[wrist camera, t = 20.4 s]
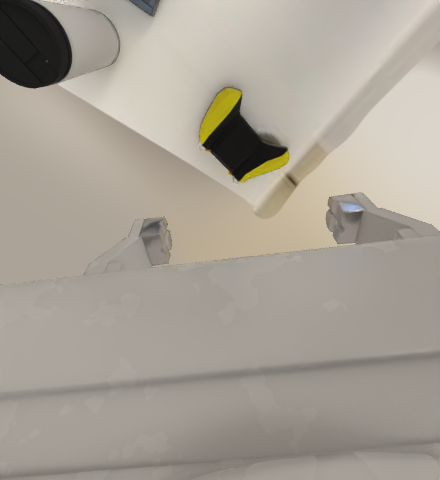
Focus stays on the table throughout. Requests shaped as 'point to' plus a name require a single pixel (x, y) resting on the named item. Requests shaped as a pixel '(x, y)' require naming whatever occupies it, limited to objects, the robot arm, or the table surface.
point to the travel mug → (53, 42)
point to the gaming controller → (237, 139)
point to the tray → (147, 5)
